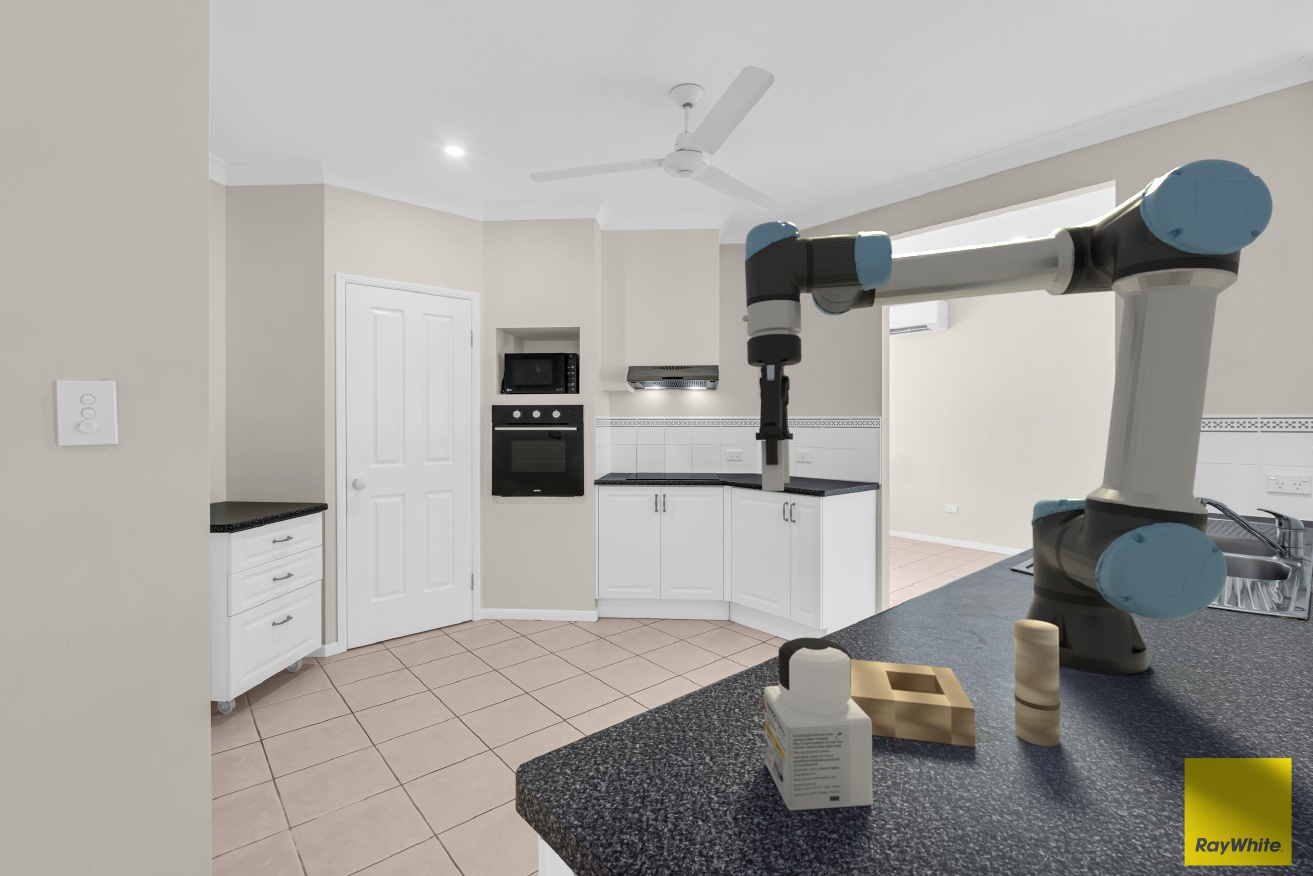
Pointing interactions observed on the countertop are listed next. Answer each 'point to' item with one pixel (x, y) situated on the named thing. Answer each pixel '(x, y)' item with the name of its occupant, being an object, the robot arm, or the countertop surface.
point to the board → (913, 702)
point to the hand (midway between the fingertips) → (777, 486)
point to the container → (817, 729)
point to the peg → (1037, 682)
